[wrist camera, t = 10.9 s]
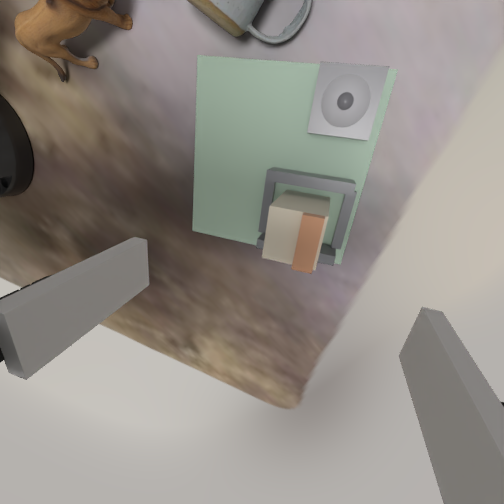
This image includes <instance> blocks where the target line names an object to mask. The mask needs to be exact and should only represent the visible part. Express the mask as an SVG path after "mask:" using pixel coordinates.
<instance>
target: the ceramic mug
mask: <svg viewBox="0 0 504 504" xmlns="http://www.w3.org/2000/svg"><path fill="white" fill-rule="evenodd" d="M188 1H189V2H190V3H191V4H193V5H194V6H195V7H196V8H198V9H199V10H200V11H201V12H203V13H204V14H205V15H206V16H208V17H209V18H210V19H211V20H213V21H214V22H215V23H217V24H218V25H219V26H220V27H222V28H223V29H224V30H226V31H227V32H228V33H230V34H231V35H232V36H234V37H238V36H241V35H242V34H244V33H245V31H249V32H250V33H251V34H252V35H253V36H254V37H256V38H258V39H260V40H262V41H264V42H266V43H271V44H278V43H281V42H284V41H286V40H288V39H290V38H291V37H292V36H293V35H295V33H296V32H297V31H298V30H299V29H300V28H301V26H302V25H303V23H304V22H305V20H306V18H307V16H308V14H309V11H310V8H311V2H312V0H304V3H303V6H302V8H301V10H300V11H299V13H298V14H297V16H296V17H295V19H294V20H293V21H292V23H291V24H290V25H289V26H287V27H285V29H284V31H283V33H281V34H280V35H279V36H277V37H272V36H266V35H264V34H263V33H261V32H259V31H257V30H256V29H255V28H254V27H253V26H252V22H253V20H254V18H255V16H256V15H257V13H258V11H259V9H260V7H261V5H262V3H263V2H264V0H188Z"/></svg>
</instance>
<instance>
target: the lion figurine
mask: <svg viewBox="0 0 504 504" xmlns="http://www.w3.org/2000/svg"><path fill="white" fill-rule="evenodd" d="M114 2H115V0H39V1H38V3H37V4H36V5H35V6H34V7H33V8H31V9H29V10H27V11H23V12H21V13H19V14H18V15H17V16H16V18H15V29H16V31H15V35H16V37H17V39H18V41H19V43H20V44H21V45H22V46H24V47H25V48H26V49H27V50H29V51H31V52H32V53H34V54H36V55H38V56H39V57H41V58H43V59H44V60H46V61H48V62H49V63H50V64H52V65H53V66H54V67H55V68H56V70H57V71H58V75H59V77H60V79H61V81H62V82H64V81H65V80H66V75H65V73H64V71H63V70H62V68H61V67H60V66H59V65H58V64H57V63H56V62H55V61H54V60H52V59H51V58H50V57H54V58H62V59H66V60H69V61H70V62H72V63H73V64H76V65H81V66H86V67H89V68H92V69H96V68H97V67H98V62H97V60H96V58H95V57H94V56H89V57H87V58H79V57H76V56H74V55H73V54H72V53H71V52H69V49H68V47H66V46H65V45H60V42H61V41H62V40H64V39H69V38H73V37H76V36H78V35H80V34H81V33H83V32H84V31H85V30H86V29H87V27H88V26H89V24H90V22H91V20H92V19H96V20H101V21H105V22H108V23H111V24H113V25H116V26H118V27H120V28H123V29H126V30H130V29H131V28H132V24H133V23H132V19H131V18H130V16H129V15H128V14H125V15H121V14H116V13H115V12H114V11H113V10H111V8H112V7H113V5H114Z"/></svg>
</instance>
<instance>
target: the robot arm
mask: <svg viewBox="0 0 504 504" xmlns="http://www.w3.org/2000/svg"><path fill="white" fill-rule="evenodd" d="M32 174H33V157H32V151H31V147H30V143H29V140H28V137H27V134H26V132H25V130H24V128H23V125H22V123H21V122H20V120H19V118H18V117H17V115H16V113H15V112H14V110H13V109H12V108H11V107H10V105H9V104H8V103H7V102H6V101H5V100H4V99H3V98H2V97H1V96H0V197H6V196H12V195H17V194H20V193H22V192H23V191H24V190H25V189H26V188H27V187H28V185H29V183H30V181H31V178H32ZM147 286H149V269H148V249H147V240H146V239H142V238H138V237H133V238H130V239H128V240H126V241H124V242H122V243H120V244H118V245H116V246H114V247H111V248H109V249H107V250H105V251H103V252H101V253H99V254H97V255H94V256H92V257H90V258H88V259H86V260H84V261H82V262H80V263H77V264H75V265H73V266H71V267H69V268H67V269H65V270H63V271H60V272H58V273H56V274H54V275H50V276H47V277H44V278H42V279H40V280H38V281H35V282H33V283H32V284H31V285H30V284H29V285H27V286H25V287H22V288H21V289H20V290H16V291H14V292H12V293H10V294H7V295H5V296H3V297H1V298H0V362H1V361H3V360H4V361H5V364H6V366H7V369H8V372H9V373H11V374H13V375H16V376H18V377H20V378H23V379H26V380H27V379H28V378H29V377H31V376H32V375H33V374H34V373H36V372H37V371H38V370H39V369H41V368H42V367H43V366H45V365H46V364H47V363H49V362H50V361H51V360H53V359H54V358H55V357H56V356H58V355H59V354H60V353H62V352H63V351H64V350H66V349H67V348H68V347H69V346H71V345H72V344H73V343H75V342H76V341H77V340H79V339H80V338H81V337H82V336H84V335H85V334H86V333H88V332H89V331H90V330H92V329H93V328H94V327H95V326H97V325H98V324H99V323H101V322H102V321H103V320H105V319H106V318H107V317H108V316H110V315H111V314H112V313H114V312H115V311H116V310H117V309H119V308H120V307H121V306H123V305H124V304H125V303H127V302H128V301H129V300H130V299H132V298H133V297H134V296H136V295H137V294H138V293H140V292H141V291H142V290H143V289H145V288H146V287H147ZM399 358H400V362H401V365H402V368H403V371H404V374H405V378H406V381H407V384H408V387H409V391H410V394H411V398H412V401H413V404H414V408H415V410H416V414H417V417H418V420H419V424H420V427H421V430H422V434H423V437H424V440H425V443H426V447H427V450H428V453H429V457H430V460H431V463H432V467H433V470H434V473H435V476H436V479H437V483H438V486H439V489H440V493H441V496H442V499H443V503H444V504H504V402H500V401H499V399H498V397H497V396H496V394H495V393H494V391H493V390H492V388H491V386H490V385H489V383H488V382H487V380H486V379H485V377H484V376H483V374H482V372H481V371H480V369H479V368H478V367H477V365H476V363H475V362H474V360H473V358H472V357H471V355H470V354H469V352H468V351H467V349H466V348H465V346H464V345H463V343H462V341H461V340H460V338H459V337H458V335H457V334H456V332H455V330H454V329H453V327H452V326H451V324H450V323H449V321H448V320H447V318H446V316H445V315H444V313H443V312H441V311H437V310H432V309H429V308H424V307H422V308H421V310H420V312H419V315H418V317H417V319H416V321H415V323H414V325H413V327H412V329H411V331H410V334H409V335H408V338H407V340H406V342H405V344H404V346H403V348H402V350H401V352H400V354H399Z"/></svg>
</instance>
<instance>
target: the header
mask: <svg viewBox="0 0 504 504" xmlns="http://www.w3.org/2000/svg"><path fill="white" fill-rule="evenodd" d="M276 182H277V183H283V184H289V185H294V186H300V187H306V188H312V189H318V190H323V191H329V192H335V193H341V194H345V195H344V198H343V202H342V206H341V210H340V213H339V217H338V221H337V224H336V228H335V232H334V236H333V239H332V243H331V245H329V244H324V243H322V246H321V250H320V254H319V258H318V262H319V263H324V264H328V265H332V266H333V265H334V261H335V258H336V249H340V250H341V247H342V243H343V240H344V236H345V233H346V229H347V226H348V222H349V219H350V215H351V212H352V208H353V205H354V201H355V198H356V194H357V191H354V190H355V187H356V183H355V181H354V180H352V179H346V178H339V177H333V176H327V175H321V174H314V173H308V172H302V171H296V170H290V169H283V168H277V167H272V168H270V169H267V173H266V180H265V187H264V194H263V201H262V208H261V215H260V222H259V230H258V232H261V233H262V234H261V235H260V236H259V238H258V239H257V245H256V248H259V249H263V247H264V240H265V233H266V227H267V220H268V213H269V207H270V205H271V204H272V203H273V199H274V193H275V187H276Z"/></svg>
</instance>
